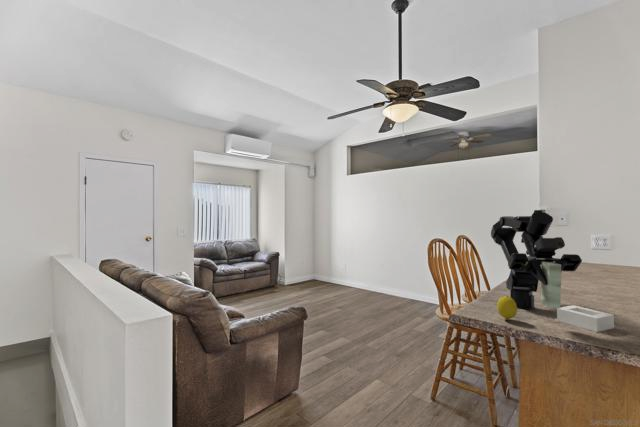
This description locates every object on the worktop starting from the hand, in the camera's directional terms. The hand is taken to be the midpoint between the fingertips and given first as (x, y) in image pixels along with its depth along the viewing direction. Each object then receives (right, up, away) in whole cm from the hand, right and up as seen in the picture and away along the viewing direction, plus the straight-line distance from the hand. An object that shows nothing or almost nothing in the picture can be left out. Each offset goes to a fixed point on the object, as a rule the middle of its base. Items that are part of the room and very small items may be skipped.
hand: (553, 284), depth 90 cm
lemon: (-9, -14, +8) cm, 18 cm away
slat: (0, -7, +1) cm, 7 cm away
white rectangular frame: (+13, -13, +4) cm, 19 cm away
